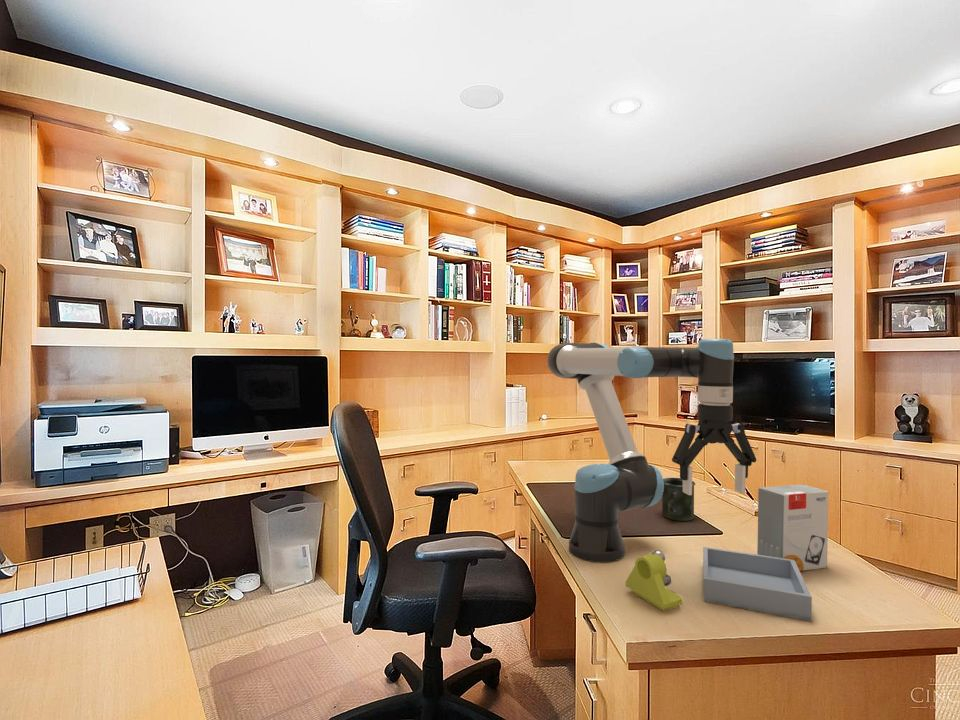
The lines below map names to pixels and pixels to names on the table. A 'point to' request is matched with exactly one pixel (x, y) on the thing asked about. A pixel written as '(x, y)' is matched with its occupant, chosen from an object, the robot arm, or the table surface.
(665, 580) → the ball stud
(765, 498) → the hard drive box
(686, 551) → the table surface
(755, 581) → the bin
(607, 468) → the robot arm
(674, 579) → the table surface
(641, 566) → the bracket
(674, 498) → the mug
